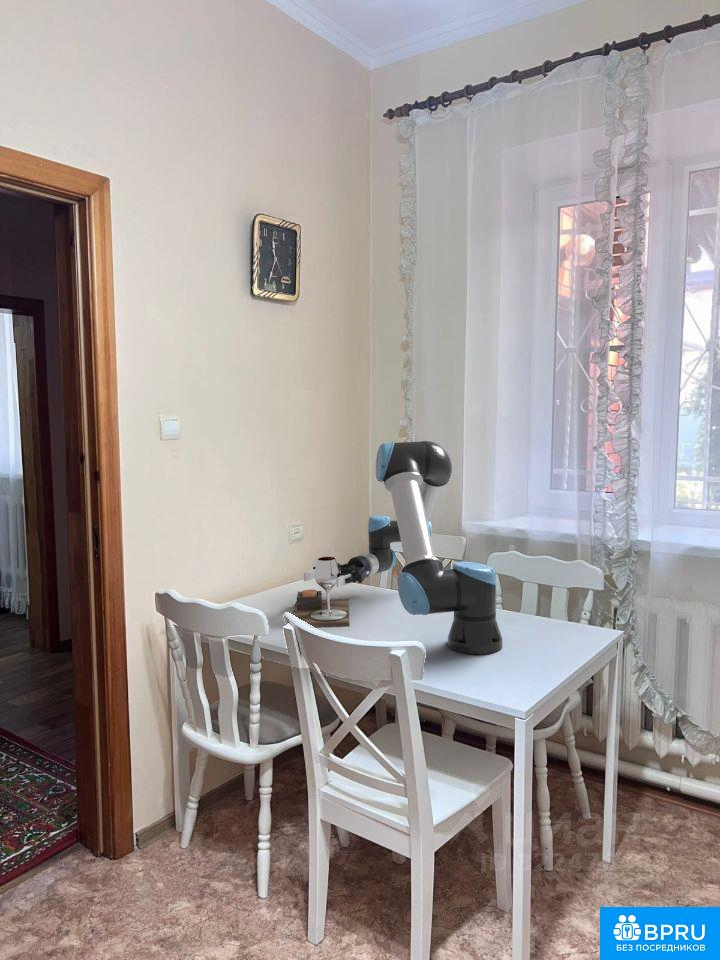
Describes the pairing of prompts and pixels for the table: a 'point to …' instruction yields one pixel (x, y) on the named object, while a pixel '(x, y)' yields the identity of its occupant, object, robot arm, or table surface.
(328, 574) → the wineglass
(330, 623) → the board
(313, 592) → the button
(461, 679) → the table surface
